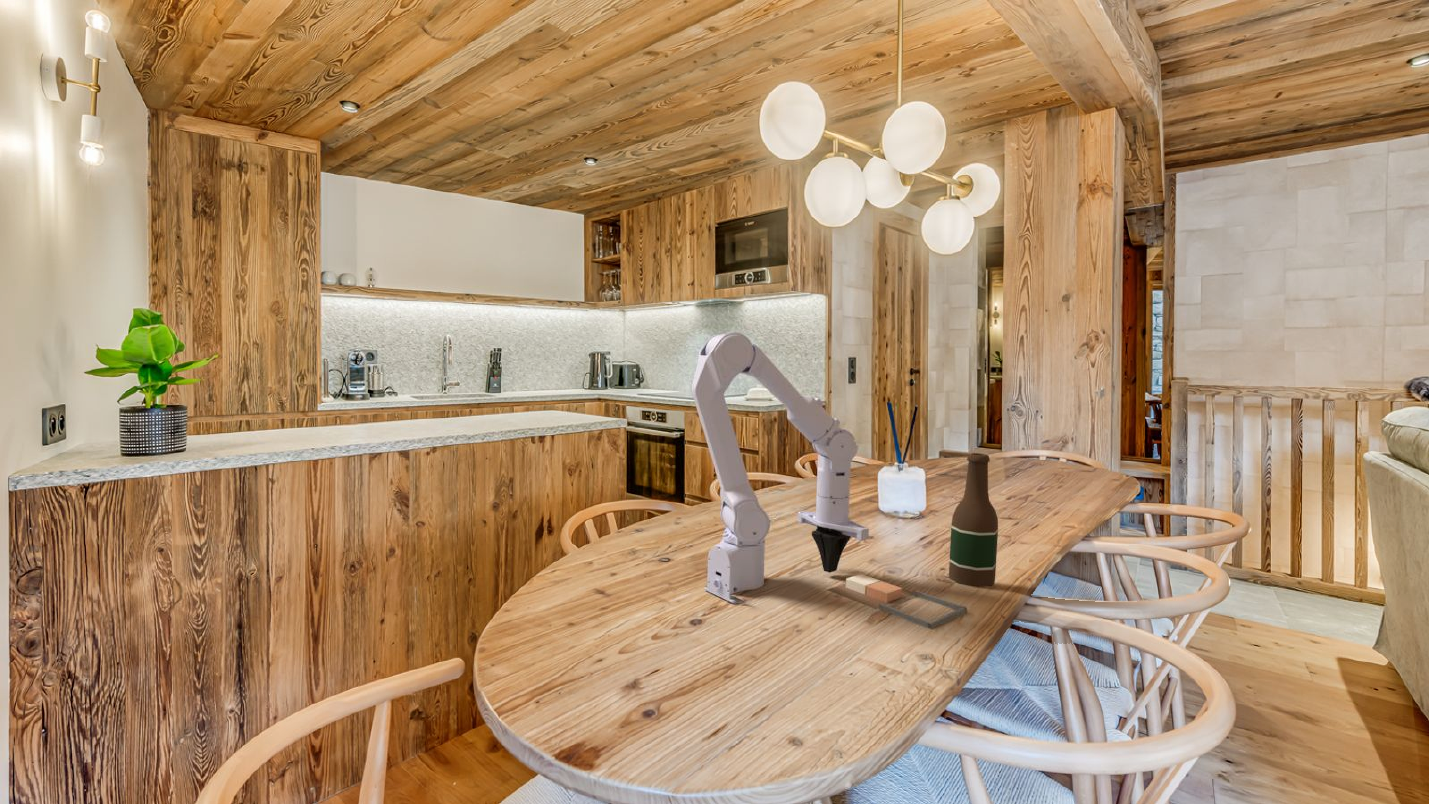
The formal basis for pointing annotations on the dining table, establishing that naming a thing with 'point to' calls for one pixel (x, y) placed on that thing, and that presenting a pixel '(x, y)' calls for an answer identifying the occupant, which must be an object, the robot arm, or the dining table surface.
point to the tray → (958, 611)
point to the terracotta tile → (884, 591)
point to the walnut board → (865, 596)
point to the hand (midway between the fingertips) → (830, 570)
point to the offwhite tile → (860, 583)
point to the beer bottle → (974, 530)
